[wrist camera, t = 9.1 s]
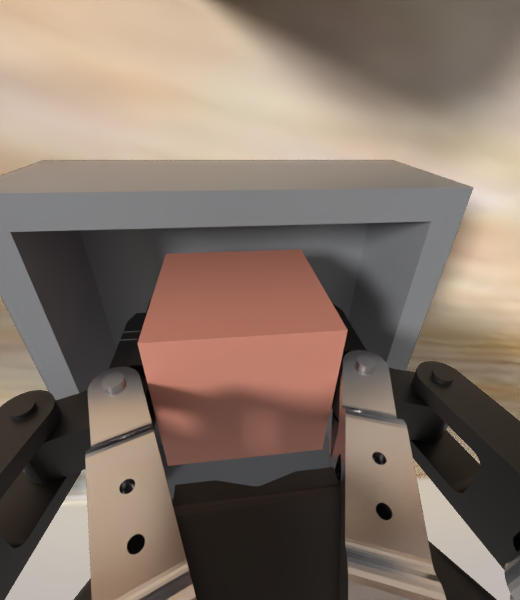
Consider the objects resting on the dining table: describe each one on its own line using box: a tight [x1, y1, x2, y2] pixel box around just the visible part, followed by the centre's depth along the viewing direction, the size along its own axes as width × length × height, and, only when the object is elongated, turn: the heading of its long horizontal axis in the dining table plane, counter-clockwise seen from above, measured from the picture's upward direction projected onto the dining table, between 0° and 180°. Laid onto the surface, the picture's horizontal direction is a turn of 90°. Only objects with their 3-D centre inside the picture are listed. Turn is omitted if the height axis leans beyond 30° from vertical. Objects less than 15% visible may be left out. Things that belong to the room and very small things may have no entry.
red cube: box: [137, 249, 348, 466], centre depth 11 cm, size 5×5×5 cm
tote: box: [0, 160, 473, 499], centre depth 15 cm, size 18×14×5 cm
